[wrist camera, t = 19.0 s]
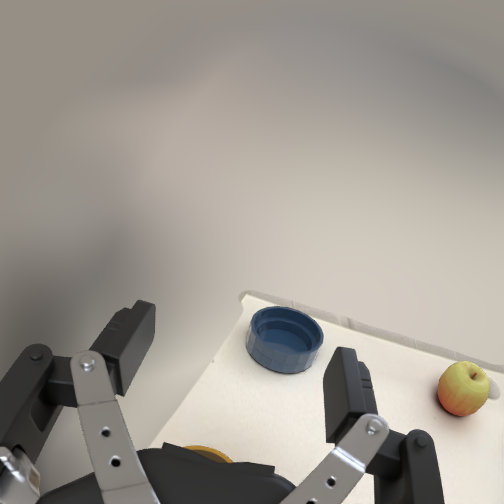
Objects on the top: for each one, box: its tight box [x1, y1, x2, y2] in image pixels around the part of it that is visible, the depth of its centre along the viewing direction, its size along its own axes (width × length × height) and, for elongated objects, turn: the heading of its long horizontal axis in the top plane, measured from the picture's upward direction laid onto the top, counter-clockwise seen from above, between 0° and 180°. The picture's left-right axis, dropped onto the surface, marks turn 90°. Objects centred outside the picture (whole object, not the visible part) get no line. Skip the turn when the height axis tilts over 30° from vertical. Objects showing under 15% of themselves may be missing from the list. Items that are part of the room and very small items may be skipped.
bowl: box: [246, 306, 324, 373], centre depth 48 cm, size 11×11×4 cm
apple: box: [438, 361, 490, 416], centre depth 40 cm, size 10×10×8 cm
